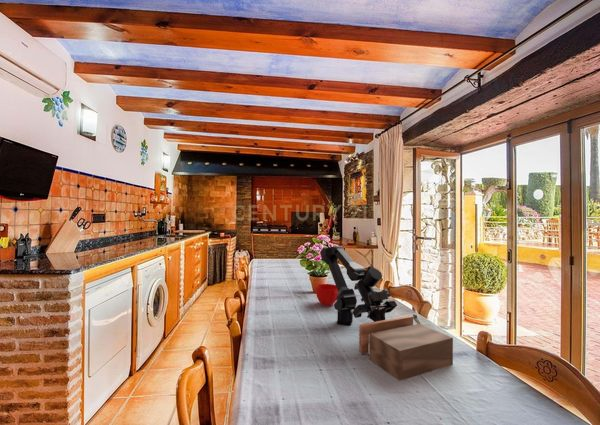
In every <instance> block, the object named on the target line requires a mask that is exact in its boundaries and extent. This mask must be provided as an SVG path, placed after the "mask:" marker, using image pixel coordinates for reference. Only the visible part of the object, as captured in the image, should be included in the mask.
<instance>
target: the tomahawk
mask: <svg viewBox="0 0 600 425" xmlns="http://www.w3.org/2000/svg"><path fill="white" fill-rule="evenodd" d="M412 317H413V320H414V321H415V322H416V324H422V323H421V321H420V320H419V319H418V315H416V314H412Z"/></svg>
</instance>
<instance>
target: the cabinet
mask: <svg viewBox="0 0 600 425" xmlns="http://www.w3.org/2000/svg"><path fill="white" fill-rule="evenodd" d="M453 357H454V337H452V336H449V335H447V334H444V333H443V332H440V331H438V330H435V329H433V328H430V327H428V326H426V325H424V324H422V323H421V324H417V323H416V324H413V325H411V326H406V327H401V328H396V329H391V330H386V331H380V332H375V333H370V355H369V361H371V362H373V363H374V364H375V365H377V366H378V367H379V368H381V369H382V370H383V371H385V372H387V373H388V374H389V375H391V376H392V377H394V378H395V379H397V380H398V381H403V380H407V379H410V378H413V377H415V376H419V375H423V374H426V373H429V372H433V371H436V370H440V369H443V368H447V367H449V366H450V367H451V366H453V364H454V358H453Z"/></svg>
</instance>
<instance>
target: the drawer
mask: <svg viewBox="0 0 600 425" xmlns="http://www.w3.org/2000/svg"><path fill="white" fill-rule="evenodd" d="M411 325H414V316H413V315H406V316H405V315H404V316H400V317H395V318H389V319H385V320H382V321H376V322H374V321H372V322H366V323H361V324H359V334H358V335H359V336H358V340H359V341H358V342H359V343H358V352H359V353H360V354H361V355H363V354H364V355H365V354H368V355H369V356H370V333H375V332H380V331H386V330H391V329H396V328H401V327H406V326H411Z"/></svg>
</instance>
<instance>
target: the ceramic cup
mask: <svg viewBox="0 0 600 425" xmlns="http://www.w3.org/2000/svg"><path fill="white" fill-rule="evenodd" d="M337 293H338V290H337V287H336V284H331V283H321V284H320V283H319V284H317V285H315V294H316V298H317V300H318V301H319V303H320V304H321V305H322V306H325V307H326V306H327V307H331V306H334V304H335V302H336V301H337Z"/></svg>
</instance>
